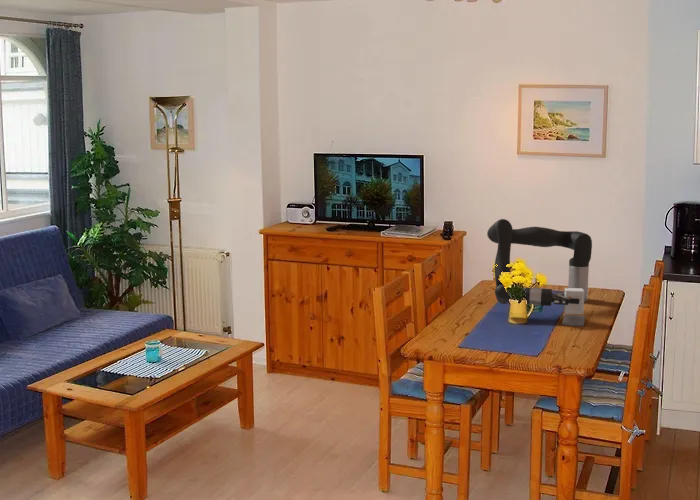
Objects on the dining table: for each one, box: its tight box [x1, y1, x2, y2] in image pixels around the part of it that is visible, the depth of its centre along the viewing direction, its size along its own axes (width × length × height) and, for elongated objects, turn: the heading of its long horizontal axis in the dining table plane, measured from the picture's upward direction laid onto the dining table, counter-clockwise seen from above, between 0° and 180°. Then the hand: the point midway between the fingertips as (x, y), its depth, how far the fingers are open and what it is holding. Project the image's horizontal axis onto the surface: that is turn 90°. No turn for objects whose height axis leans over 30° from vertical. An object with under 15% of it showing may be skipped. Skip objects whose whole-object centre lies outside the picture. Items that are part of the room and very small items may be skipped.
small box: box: [563, 287, 585, 315], centre depth 377 cm, size 8×6×10 cm
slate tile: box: [561, 313, 586, 327], centre depth 379 cm, size 14×9×1 cm, turn 163°
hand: (579, 299), depth 377 cm, fingers closed on small box, 6 cm apart
